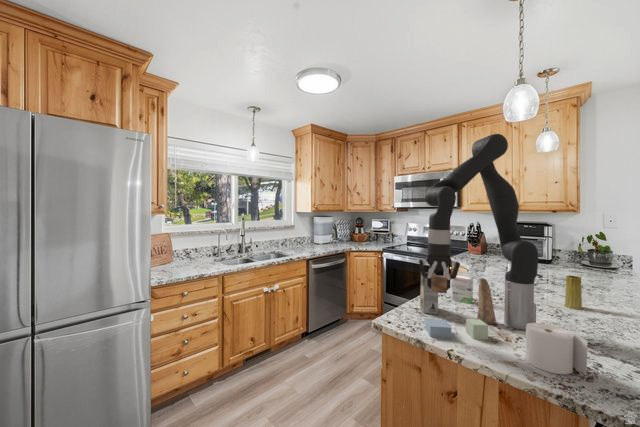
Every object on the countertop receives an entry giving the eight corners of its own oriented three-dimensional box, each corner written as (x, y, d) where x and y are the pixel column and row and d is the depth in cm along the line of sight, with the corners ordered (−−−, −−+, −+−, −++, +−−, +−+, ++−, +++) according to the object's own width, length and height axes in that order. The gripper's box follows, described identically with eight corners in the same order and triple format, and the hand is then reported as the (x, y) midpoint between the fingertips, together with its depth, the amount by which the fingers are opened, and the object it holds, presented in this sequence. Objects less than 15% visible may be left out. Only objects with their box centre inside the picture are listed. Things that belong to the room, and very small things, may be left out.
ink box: (473, 301, 135) (473, 277, 135) (469, 304, 131) (470, 279, 131) (454, 297, 141) (455, 274, 141) (451, 299, 138) (451, 276, 137)
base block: (445, 330, 103) (445, 319, 102) (451, 339, 96) (451, 327, 96) (425, 329, 104) (425, 318, 103) (430, 337, 97) (430, 326, 97)
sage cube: (479, 333, 100) (480, 319, 100) (487, 339, 95) (488, 325, 95) (465, 332, 100) (466, 319, 100) (473, 339, 95) (473, 324, 95)
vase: (567, 308, 126) (568, 277, 126) (562, 304, 132) (562, 274, 132) (585, 310, 124) (585, 278, 124) (578, 306, 130) (578, 276, 130)
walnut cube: (444, 289, 101) (445, 275, 101) (446, 293, 96) (447, 279, 96) (430, 288, 103) (430, 274, 103) (431, 291, 98) (431, 277, 98)
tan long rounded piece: (477, 319, 114) (479, 325, 108) (470, 276, 114) (472, 280, 109) (494, 319, 112) (498, 326, 106) (487, 275, 112) (490, 279, 106)
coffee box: (419, 305, 128) (420, 271, 128) (434, 307, 127) (434, 272, 127) (423, 313, 119) (423, 276, 119) (438, 314, 118) (439, 277, 118)
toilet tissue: (519, 352, 87) (519, 320, 86) (565, 358, 83) (566, 325, 83) (534, 371, 76) (535, 335, 76) (588, 379, 73) (589, 341, 73)
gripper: (459, 241, 101) (458, 288, 101) (417, 240, 105) (416, 284, 105) (463, 244, 94) (462, 294, 94) (418, 242, 98) (417, 289, 98)
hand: (438, 288), depth 100 cm, fingers closed on walnut cube, 5 cm apart
